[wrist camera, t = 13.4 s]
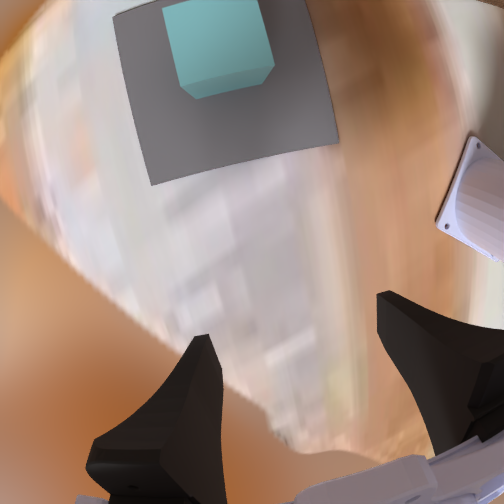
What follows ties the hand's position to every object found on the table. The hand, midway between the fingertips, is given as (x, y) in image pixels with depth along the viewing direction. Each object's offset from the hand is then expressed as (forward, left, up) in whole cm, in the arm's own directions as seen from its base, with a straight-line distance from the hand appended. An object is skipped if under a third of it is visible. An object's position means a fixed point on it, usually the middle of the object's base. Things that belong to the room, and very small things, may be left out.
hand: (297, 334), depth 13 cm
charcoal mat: (+7, -10, -9) cm, 15 cm away
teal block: (+7, -10, -9) cm, 16 cm away
